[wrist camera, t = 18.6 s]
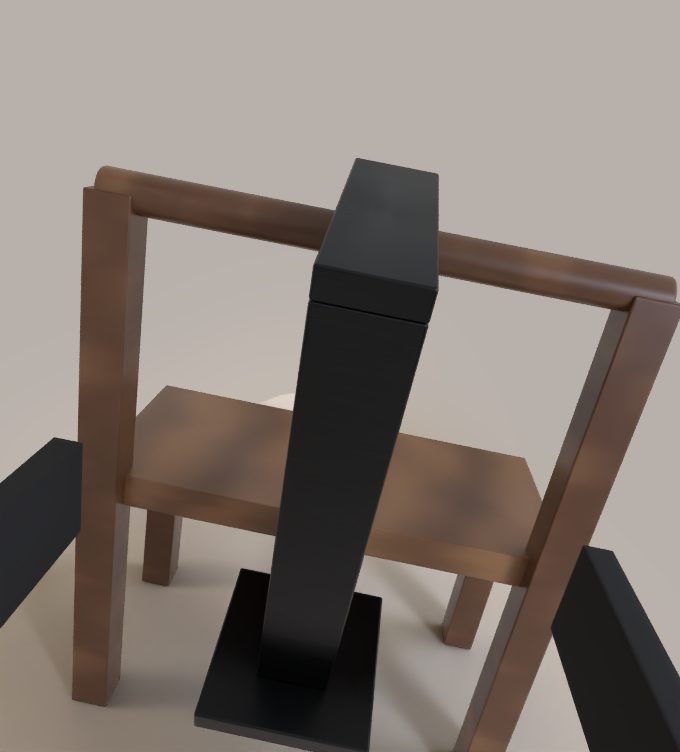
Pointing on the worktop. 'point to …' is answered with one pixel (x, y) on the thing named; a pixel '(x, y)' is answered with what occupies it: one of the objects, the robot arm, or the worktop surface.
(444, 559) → the chair
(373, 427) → the black pedestal stand
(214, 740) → the worktop surface
